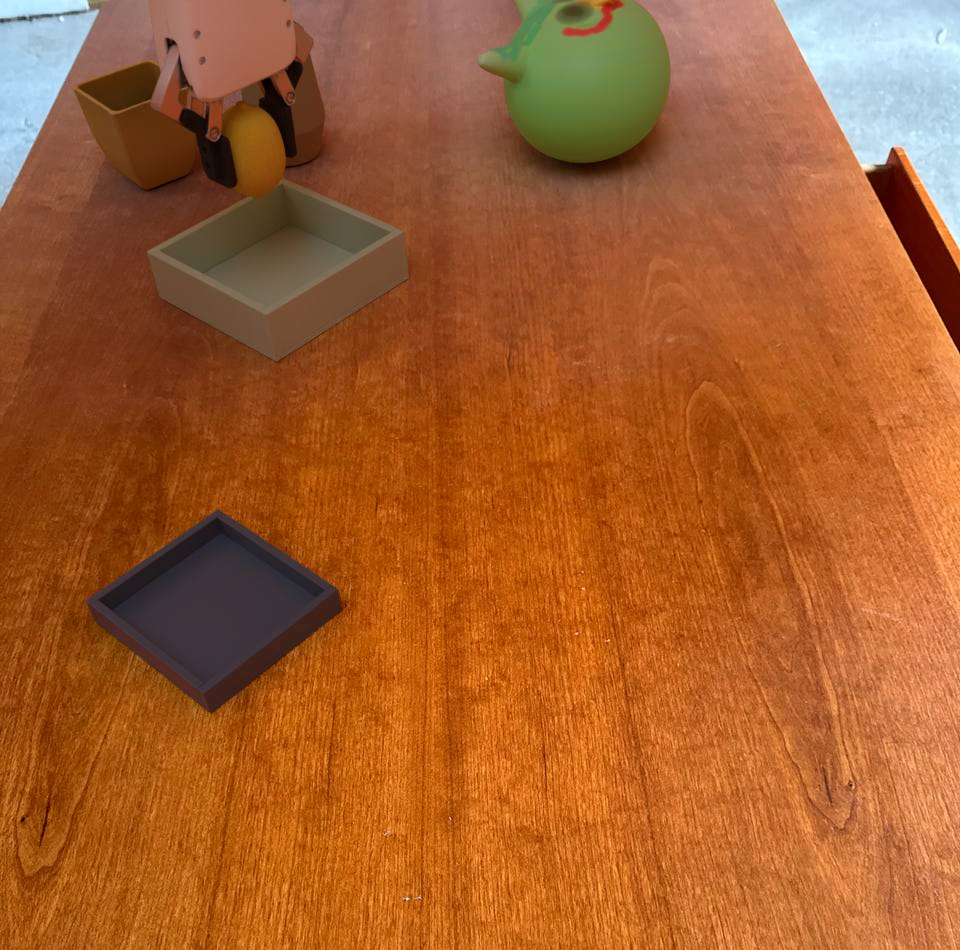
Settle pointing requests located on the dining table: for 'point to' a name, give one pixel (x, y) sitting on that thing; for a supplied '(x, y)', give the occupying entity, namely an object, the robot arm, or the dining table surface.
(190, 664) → the tray
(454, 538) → the dining table surface
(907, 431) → the dining table surface
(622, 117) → the toy bird
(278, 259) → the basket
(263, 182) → the lemon
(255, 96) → the squeeze bottle
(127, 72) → the flower pot
